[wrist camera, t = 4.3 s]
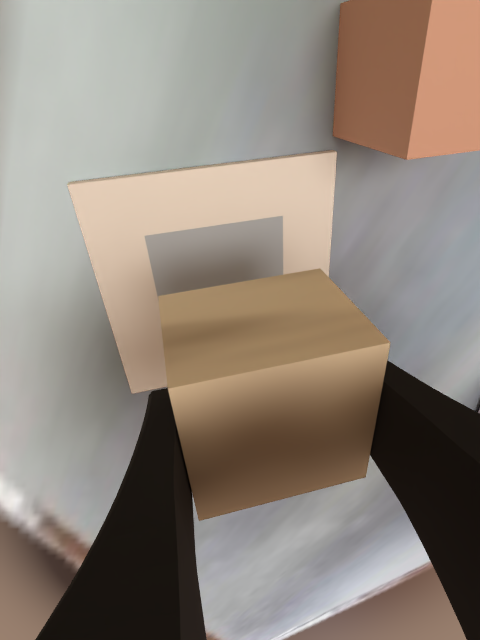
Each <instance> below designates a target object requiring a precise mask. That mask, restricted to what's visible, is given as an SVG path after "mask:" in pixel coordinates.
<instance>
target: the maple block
mask: <svg viewBox="0 0 480 640" xmlns="http://www.w3.org/2000/svg"><path fill="white" fill-rule="evenodd" d="M158 300H159V310H160V319H161V329H162V338H163V348H164V357H165V367H166V376H167V386H168V392H169V396H170V400H171V404H172V409H173V413H174V417H175V421H176V426H177V430H178V434H179V438H180V442H181V447H182V451H183V455H184V459H185V464H186V468H187V472H188V476H189V481H190V485H191V489H192V493H193V498H194V502H195V506H196V510H197V514H198V519H199V521H200V520H204V519H208V518H212V517H216V516H220V515H223V514H227V513H231V512H235V511H239V510H242V509H246V508H250V507H254V506H258V505H262V504H265V503H269V502H273V501H277V500H281V499H284V498H288V497H292V496H296V495H300V494H303V493H307V492H311V491H315V490H319V489H323V488H326V487H330V486H334V485H338V484H342V483H345V482H349V481H353V480H357V479H361V478H364V477H366V473H367V467H368V462H369V456H370V451H371V445H372V440H373V435H374V429H375V424H376V418H377V413H378V408H379V402H380V397H381V391H382V386H383V380H384V375H385V370H386V364H387V359H388V353H389V348H390V342H389V341H388V340H387V338H386V337H385V336H384V335H383V334H382V333H381V332H380V331H379V330H378V329H377V328H376V327H375V326H374V325H373V324H372V323H371V322H370V320H369V319H368V318H367V317H366V316H365V315H364V314H363V313H362V312H361V311H360V310H359V309H358V308H357V307H356V306H355V305H354V304H353V303H352V301H351V300H350V299H349V298H348V297H347V296H346V295H345V294H344V293H343V292H342V291H341V290H340V289H339V288H338V287H337V286H336V285H335V284H334V282H333V281H332V280H331V279H330V278H329V277H328V276H327V275H326V274H325V273H324V272H323V271H322V270H321V269H320V268H319V269H313V270H308V271H302V272H296V273H290V274H284V275H278V276H272V277H267V278H261V279H255V280H249V281H243V282H237V283H231V284H226V285H220V286H214V287H208V288H202V289H196V290H190V291H185V292H179V293H173V294H167V295H161V296H158Z"/></svg>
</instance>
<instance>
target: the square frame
mask: <svg viewBox="0 0 480 640" xmlns="http://www.w3.org/2000/svg"><path fill="white" fill-rule="evenodd" d="M336 157H337V152H336V151H333V150H329V151H321V152H313V153H305V154H296V155H288V156H280V157H272V158H263V159H255V160H247V161H239V162H231V163H222V164H214V165H206V166H198V167H190V168H181V169H173V170H165V171H157V172H148V173H140V174H132V175H124V176H116V177H107V178H99V179H91V180H83V181H75V182H69V183H68V189H69V192H70V195H71V198H72V202H73V205H74V208H75V211H76V215H77V218H78V221H79V224H80V227H81V231H82V234H83V237H84V240H85V244H86V247H87V250H88V253H89V257H90V260H91V263H92V266H93V269H94V273H95V276H96V279H97V282H98V286H99V289H100V292H101V295H102V299H103V302H104V305H105V308H106V312H107V315H108V318H109V321H110V324H111V328H112V331H113V334H114V337H115V341H116V344H117V347H118V350H119V354H120V357H121V360H122V363H123V366H124V370H125V373H126V376H127V379H128V383H129V386H130V389H131V392H132V394H133V393H138V392H143V391H148V390H153V389H157V388H162V387H167V376H166V367H165V357H164V348H163V338H162V329H161V319H160V310H159V300H158V296H161V295H167V294H173V293H179V292H185V291H190V290H196V289H202V288H208V287H214V286H220V285H226V284H231V283H237V282H243V281H249V280H255V279H261V278H267V277H272V276H278V275H284V274H290V273H296V272H302V271H308V270H313V269H319V268H320V269H321V270H322V271H323V272H324V273H325V274H326V275H327V276H328V277H329V264H330V248H331V233H332V218H333V203H334V187H335V172H336Z"/></svg>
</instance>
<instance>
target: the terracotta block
mask: <svg viewBox="0 0 480 640" xmlns="http://www.w3.org/2000/svg"><path fill="white" fill-rule="evenodd" d="M333 136H334V137H337V138H340V139H344V140H347V141H350V142H353V143H356V144H359V145H362V146H365V147H369V148H372V149H375V150H378V151H381V152H384V153H387V154H390V155H394V156H397V157H400V158H403V159H406V160H408V159H416V158H424V157H431V156H439V155H447V154H454V153H462V152H470V151H478V150H480V0H350V1H347V2H344V3H341V4H340V21H339V38H338V55H337V72H336V89H335V106H334V123H333Z"/></svg>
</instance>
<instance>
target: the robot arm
mask: <svg viewBox="0 0 480 640" xmlns="http://www.w3.org/2000/svg"><path fill="white" fill-rule="evenodd" d="M370 455H371V457H372V459H373V460H374V462H375V463H376V465H377V466H378V468H379V469H380V471H381V473H382V474H383V476H384V477H385V479H386V480H387V482H388V484H389V485H390V487H391V488H392V490H393V491H394V493H395V494H396V496H397V498H398V499H399V501H400V503H401V504H402V506H403V508H404V510H405V511H406V513H407V515H408V517H409V519H410V521H411V523H412V525H413V527H414V529H415V531H416V533H417V534H418V536H419V538H420V540H421V542H422V544H423V546H424V548H425V550H426V552H427V554H428V556H429V559H430V561H431V563H432V565H433V567H434V569H435V571H436V573H437V575H438V577H439V579H440V581H441V583H442V585H443V588H444V590H445V592H446V594H447V596H448V598H449V600H450V603H451V605H452V607H453V610H454V612H455V614H456V616H457V618H458V620H459V622H460V625H461V627H462V629H463V632H464V634H465V637H466V639H467V640H480V409H479V412H476V411H474V410H472V409H470V408H468V407H466V406H464V405H462V404H461V403H459V402H457V401H455V400H453V399H451V398H449V397H448V396H446V395H444V394H442V393H440V392H439V391H437V390H435V389H433V388H432V387H430V386H428V385H427V384H425V383H423V382H422V381H420V380H418V379H417V378H415V377H413V376H412V375H410V374H408V373H407V372H405V371H404V370H402V369H400V368H399V367H397V366H396V365H394V364H392V363H391V362H389V361H388V360H387V364H386V370H385V375H384V380H383V386H382V391H381V397H380V402H379V408H378V413H377V418H376V424H375V429H374V435H373V440H372V445H371V451H370ZM36 640H206V633H205V625H204V618H203V611H202V604H201V597H200V590H199V582H198V575H197V566H196V555H195V539H194V521H193V502H192V489H191V485H190V481H189V476H188V472H187V468H186V464H185V459H184V455H183V451H182V447H181V442H180V438H179V434H178V430H177V426H176V421H175V417H174V413H173V409H172V404H171V400H170V396H169V392H168V388H166V389H161V390H156V391H152V392H151V393H150V395H149V398H148V404H147V409H146V413H145V417H144V421H143V425H142V428H141V432H140V435H139V438H138V441H137V444H136V447H135V450H134V453H133V456H132V458H131V461H130V464H129V466H128V469H127V471H126V474H125V476H124V479H123V481H122V484H121V486H120V489H119V491H118V493H117V496H116V498H115V500H114V502H113V504H112V507H111V509H110V511H109V513H108V515H107V517H106V519H105V521H104V523H103V525H102V527H101V529H100V531H99V533H98V535H97V537H96V539H95V541H94V543H93V545H92V546H91V548H90V550H89V552H88V554H87V556H86V557H85V559H84V561H83V563H82V565H81V567H80V568H79V570H78V572H77V574H76V575H75V577H74V579H73V580H72V582H71V584H70V586H69V587H68V589H67V591H66V592H65V594H64V595H63V597H62V598H61V600H60V602H59V603H58V605H57V607H56V608H55V610H54V611H53V613H52V614H51V616H50V618H49V619H48V621H47V622H46V624H45V626H44V627H43V629H42V630H41V632H40V633H39V635H38V637H37V638H36Z"/></svg>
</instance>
